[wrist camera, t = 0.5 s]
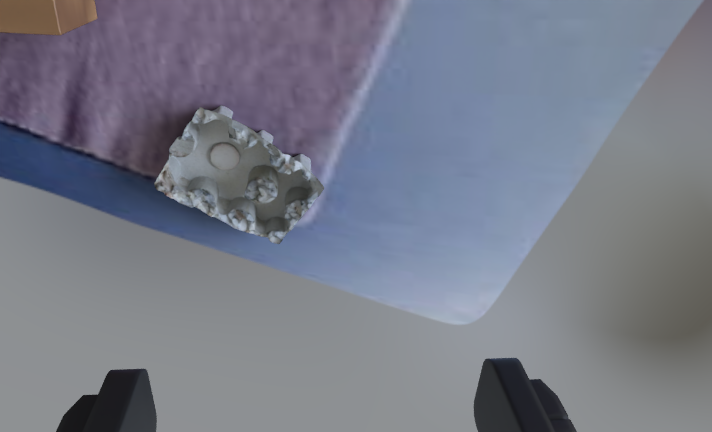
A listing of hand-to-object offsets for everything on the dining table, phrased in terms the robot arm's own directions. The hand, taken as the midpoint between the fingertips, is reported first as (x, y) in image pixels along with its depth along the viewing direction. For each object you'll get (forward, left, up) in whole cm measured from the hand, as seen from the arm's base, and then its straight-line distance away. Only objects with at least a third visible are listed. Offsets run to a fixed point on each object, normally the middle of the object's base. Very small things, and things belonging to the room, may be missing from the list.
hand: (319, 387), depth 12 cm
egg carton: (+7, -5, -29) cm, 30 cm away
